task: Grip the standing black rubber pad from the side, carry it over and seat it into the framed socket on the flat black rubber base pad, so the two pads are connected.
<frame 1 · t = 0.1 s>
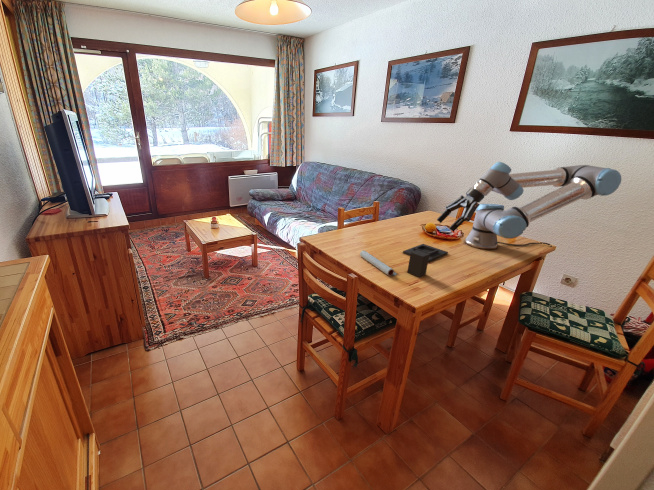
hand: (444, 225, 155), 15 cm above the table, tool tilted 35°, fingers open, 13 cm apart
base pad: (425, 253, 161), on the table
aluminum foil: (378, 265, 148), on the table
black pad: (416, 273, 140), on the table
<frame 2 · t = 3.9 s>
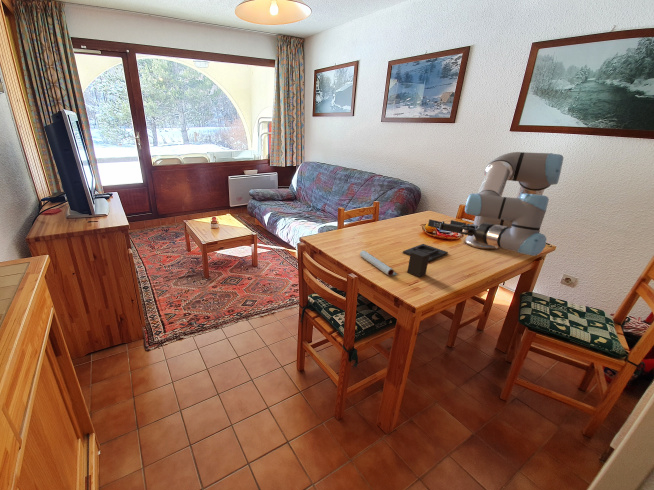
hand: (440, 223, 130), 24 cm above the table, tool horizontal, fingers open, 13 cm apart
nothing on the table moved.
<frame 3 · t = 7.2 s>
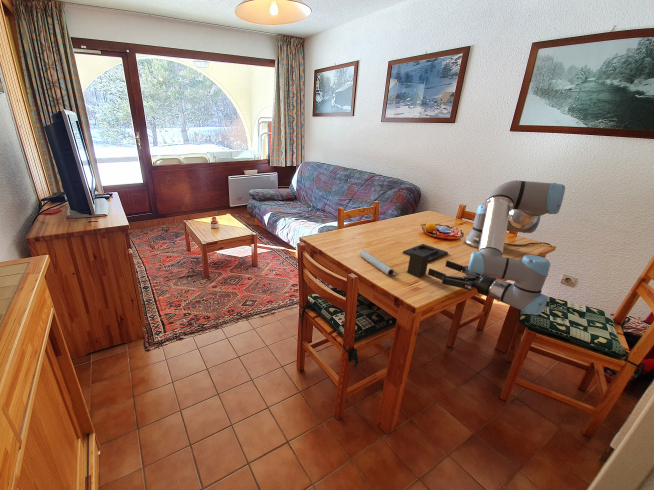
hand: (437, 267, 131), 7 cm above the table, tool horizontal, fingers open, 13 cm apart
nothing on the table moved.
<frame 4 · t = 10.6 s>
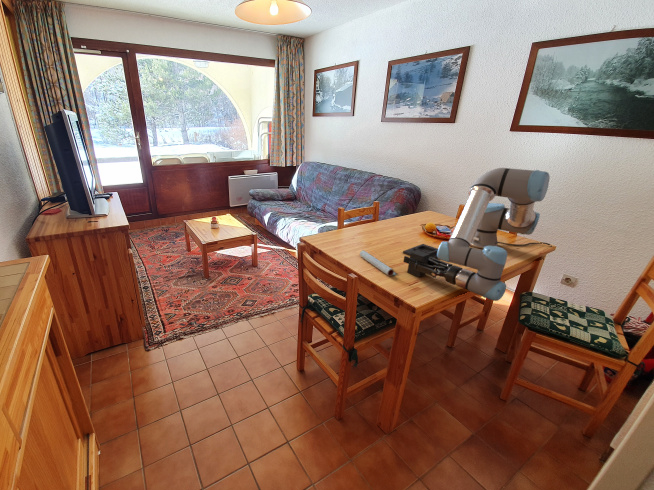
hand: (408, 257, 142), 6 cm above the table, tool horizontal, fingers closed on black pad, 5 cm apart
black pad: (416, 273, 140), on the table, touching gripper
everything else where it was.
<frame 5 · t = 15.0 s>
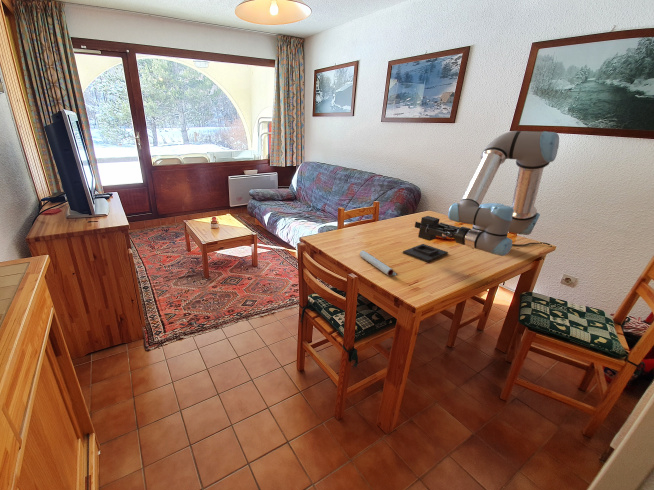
hand: (418, 223, 150), 18 cm above the table, tool horizontal, fingers closed on black pad, 5 cm apart
black pad: (426, 238, 149), point 12 cm above the table, touching gripper
everything else where it was.
when the fingers open (7 cm above the table, at t = 19.5 s): black pad stays where it is, resting on base pad.
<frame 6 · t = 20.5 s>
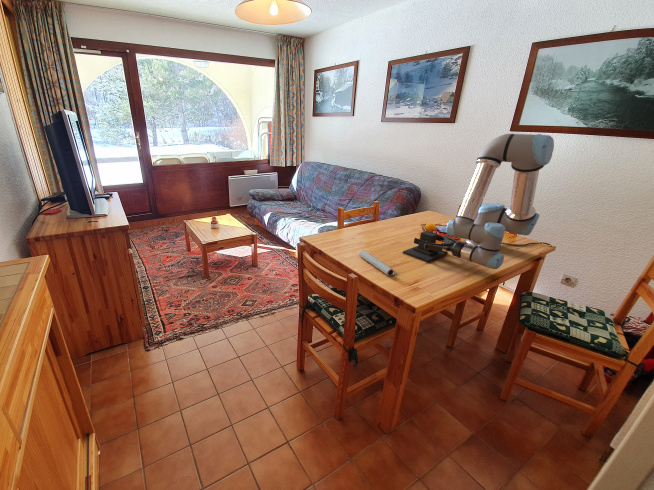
hand: (422, 237, 160), 8 cm above the table, tool horizontal, fingers open, 13 cm apart
black pad: (425, 251, 160), point 1 cm above the table, touching base pad
everything else where it was.
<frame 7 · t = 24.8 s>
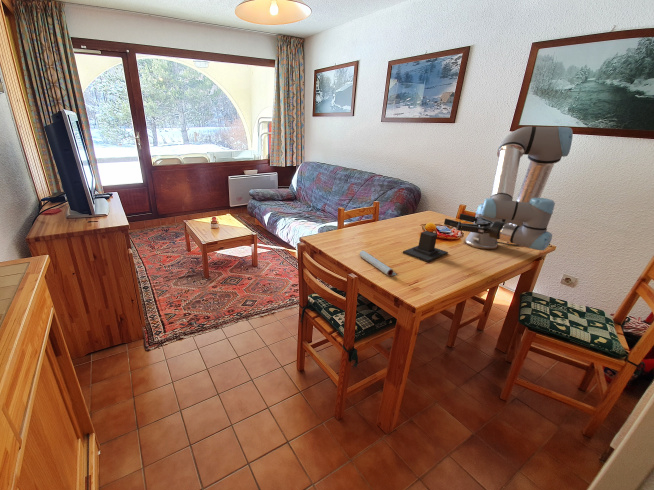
hand: (452, 218, 145), 21 cm above the table, tool horizontal, fingers open, 13 cm apart
nothing on the table moved.
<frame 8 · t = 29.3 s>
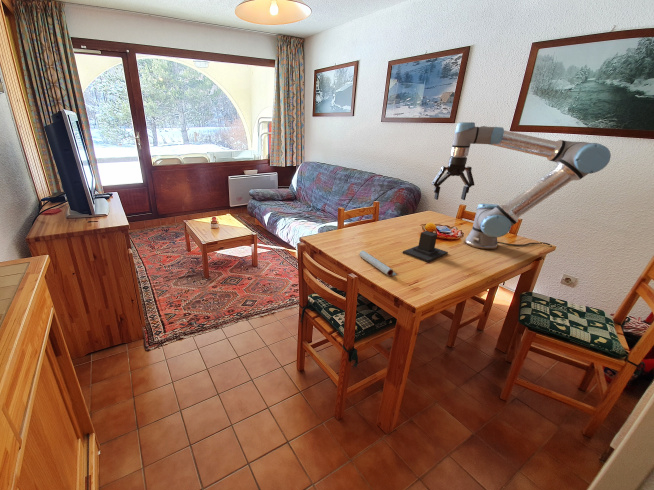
hand: (449, 199, 158), 27 cm above the table, tool pointing down, fingers open, 13 cm apart
nothing on the table moved.
at the end: black pad 0.0 cm off-centre on the base pad, point 1.2 cm above the base pad's base; black pad tilted 0°; the gripper is holding nothing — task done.
